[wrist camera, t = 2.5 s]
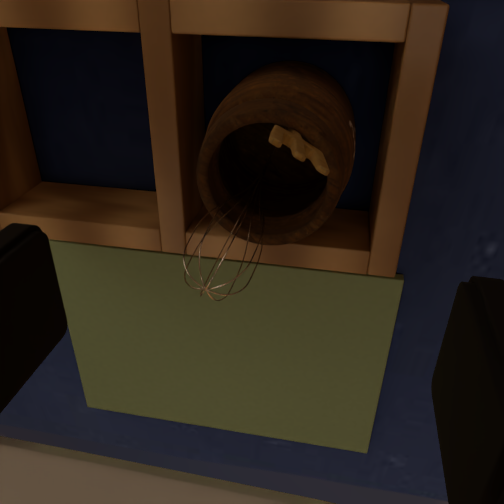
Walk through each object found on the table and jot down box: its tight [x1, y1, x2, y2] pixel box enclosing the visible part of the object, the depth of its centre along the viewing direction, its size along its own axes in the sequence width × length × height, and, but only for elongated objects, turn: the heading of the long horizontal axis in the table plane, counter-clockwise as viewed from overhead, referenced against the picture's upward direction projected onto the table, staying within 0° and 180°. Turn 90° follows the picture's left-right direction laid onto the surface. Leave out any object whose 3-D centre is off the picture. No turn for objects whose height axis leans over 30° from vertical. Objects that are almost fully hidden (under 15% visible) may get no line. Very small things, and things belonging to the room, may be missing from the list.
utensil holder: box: [183, 61, 355, 301], centre depth 17 cm, size 6×6×12 cm
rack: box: [0, 0, 449, 277], centre depth 21 cm, size 20×11×4 cm, turn 89°
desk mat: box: [49, 239, 404, 453], centre depth 30 cm, size 20×14×1 cm
